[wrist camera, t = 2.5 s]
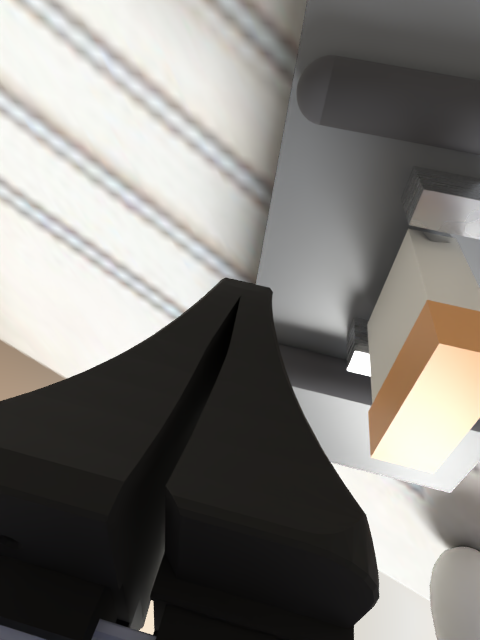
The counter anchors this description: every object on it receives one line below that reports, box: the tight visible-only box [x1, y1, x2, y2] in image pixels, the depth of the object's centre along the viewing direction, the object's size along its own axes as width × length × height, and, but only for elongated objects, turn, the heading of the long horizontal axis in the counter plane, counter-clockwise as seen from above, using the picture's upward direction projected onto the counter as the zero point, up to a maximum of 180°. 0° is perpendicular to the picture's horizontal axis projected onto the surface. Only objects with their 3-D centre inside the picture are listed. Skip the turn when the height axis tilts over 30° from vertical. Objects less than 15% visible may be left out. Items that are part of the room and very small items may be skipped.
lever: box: [367, 226, 480, 474], centre depth 11 cm, size 2×4×6 cm, turn 173°
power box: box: [256, 0, 480, 493], centre depth 15 cm, size 12×20×5 cm, turn 173°
